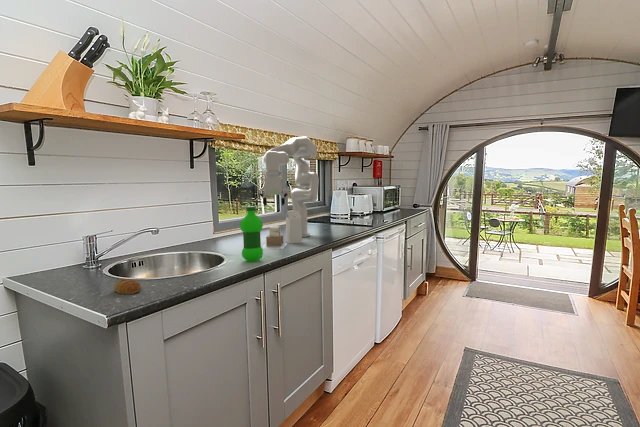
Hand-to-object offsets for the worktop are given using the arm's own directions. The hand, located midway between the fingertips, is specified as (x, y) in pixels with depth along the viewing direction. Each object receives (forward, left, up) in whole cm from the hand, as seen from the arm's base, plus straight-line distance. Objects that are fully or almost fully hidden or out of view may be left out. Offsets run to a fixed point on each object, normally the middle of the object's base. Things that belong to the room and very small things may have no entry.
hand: (274, 205), depth 188 cm
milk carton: (-8, +9, -23) cm, 26 cm away
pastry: (+77, -36, -24) cm, 88 cm away
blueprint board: (+4, 0, -23) cm, 23 cm away
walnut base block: (0, 0, -23) cm, 23 cm away
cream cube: (0, 0, -17) cm, 17 cm away
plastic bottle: (+34, -4, -23) cm, 41 cm away
